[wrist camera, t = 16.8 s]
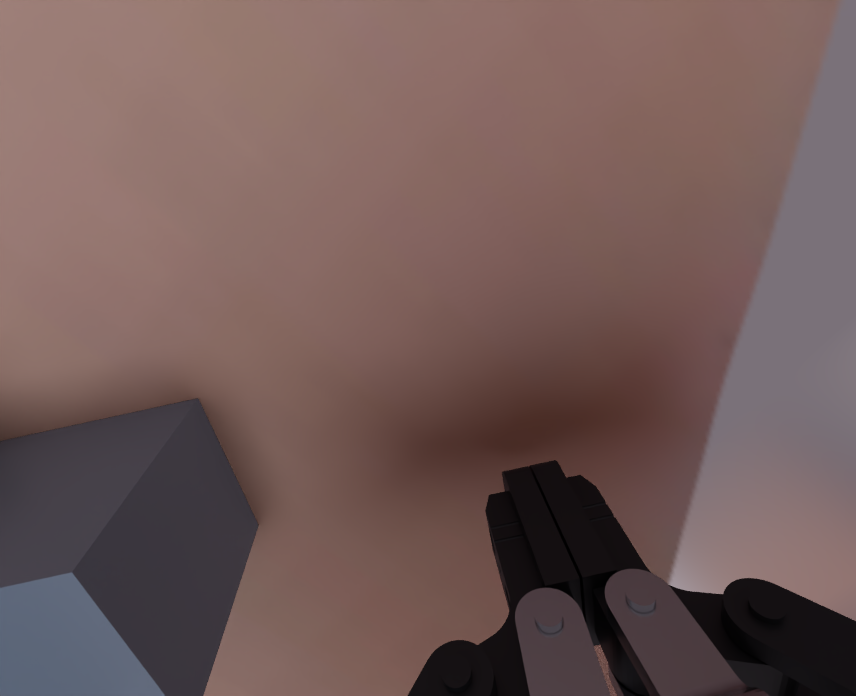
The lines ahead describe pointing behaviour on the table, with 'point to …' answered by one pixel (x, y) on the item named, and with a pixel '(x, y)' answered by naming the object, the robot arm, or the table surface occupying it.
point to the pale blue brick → (118, 555)
